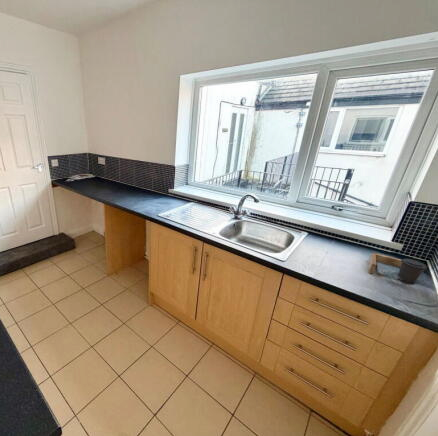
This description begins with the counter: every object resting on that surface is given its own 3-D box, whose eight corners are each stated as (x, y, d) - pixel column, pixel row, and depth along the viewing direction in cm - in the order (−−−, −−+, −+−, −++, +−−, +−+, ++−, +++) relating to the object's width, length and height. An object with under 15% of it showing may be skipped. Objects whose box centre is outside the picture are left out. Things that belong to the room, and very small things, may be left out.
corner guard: (410, 271, 116) (414, 262, 114) (415, 285, 106) (419, 276, 104) (368, 260, 125) (371, 252, 124) (368, 272, 115) (372, 263, 113)
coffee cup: (420, 282, 108) (431, 263, 104) (414, 288, 104) (425, 269, 100) (396, 273, 114) (405, 255, 110) (390, 278, 110) (399, 260, 106)
